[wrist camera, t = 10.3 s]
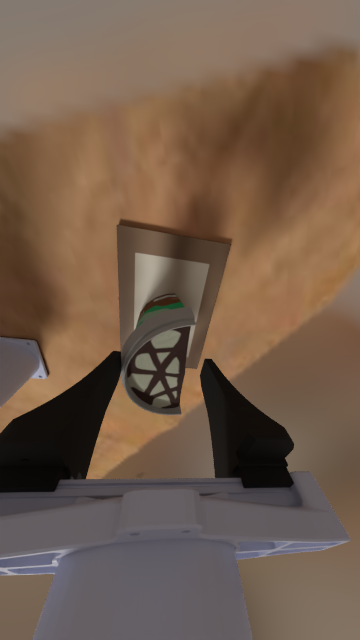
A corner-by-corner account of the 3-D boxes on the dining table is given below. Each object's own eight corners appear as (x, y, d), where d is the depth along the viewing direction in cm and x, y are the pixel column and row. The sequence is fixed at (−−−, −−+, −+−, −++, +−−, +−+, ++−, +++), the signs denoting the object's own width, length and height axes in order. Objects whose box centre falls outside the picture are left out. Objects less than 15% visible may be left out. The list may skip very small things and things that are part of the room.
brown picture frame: (122, 360, 26) (121, 363, 26) (118, 224, 17) (116, 224, 17) (196, 366, 28) (196, 368, 27) (229, 244, 19) (231, 244, 18)
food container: (126, 279, 19) (107, 317, 10) (176, 282, 20) (197, 318, 11) (131, 357, 24) (121, 425, 16) (169, 356, 26) (180, 417, 17)
